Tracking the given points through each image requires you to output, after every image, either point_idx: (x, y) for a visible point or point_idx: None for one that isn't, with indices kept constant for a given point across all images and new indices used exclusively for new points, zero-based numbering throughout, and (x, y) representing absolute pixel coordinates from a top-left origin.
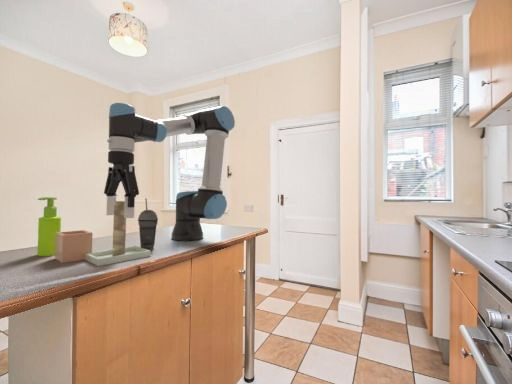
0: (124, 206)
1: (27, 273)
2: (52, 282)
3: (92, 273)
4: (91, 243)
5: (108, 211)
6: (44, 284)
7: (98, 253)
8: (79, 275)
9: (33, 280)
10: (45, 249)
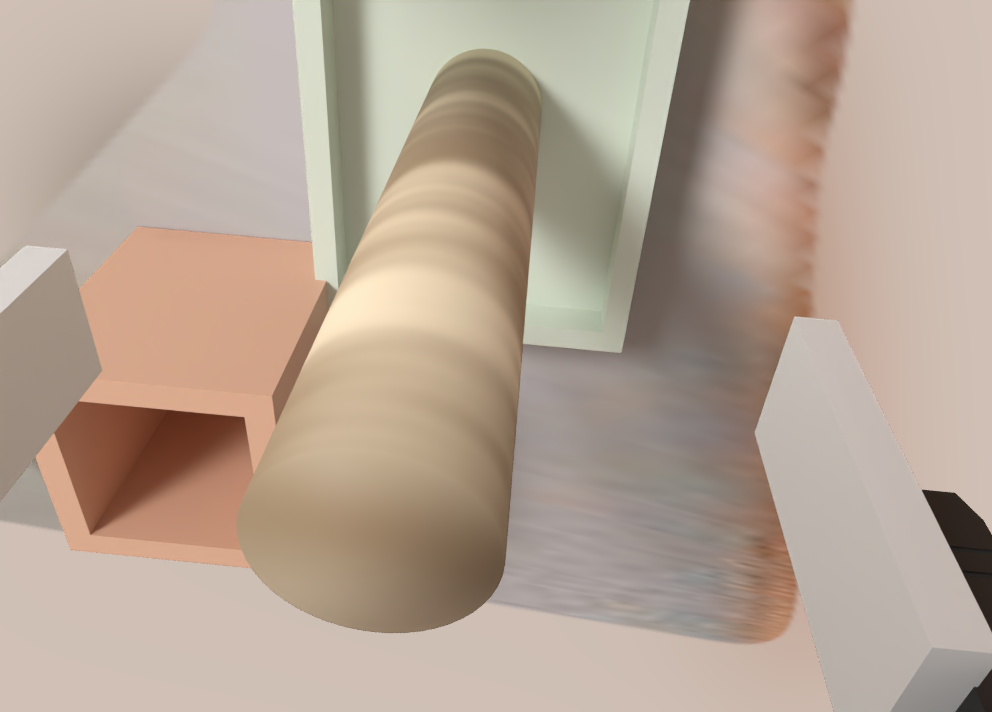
0: (507, 448)
1: None
2: (674, 523)
3: (699, 373)
4: (305, 333)
5: (62, 398)
6: (673, 545)
7: (338, 228)
8: (671, 425)
9: (561, 549)
10: None
